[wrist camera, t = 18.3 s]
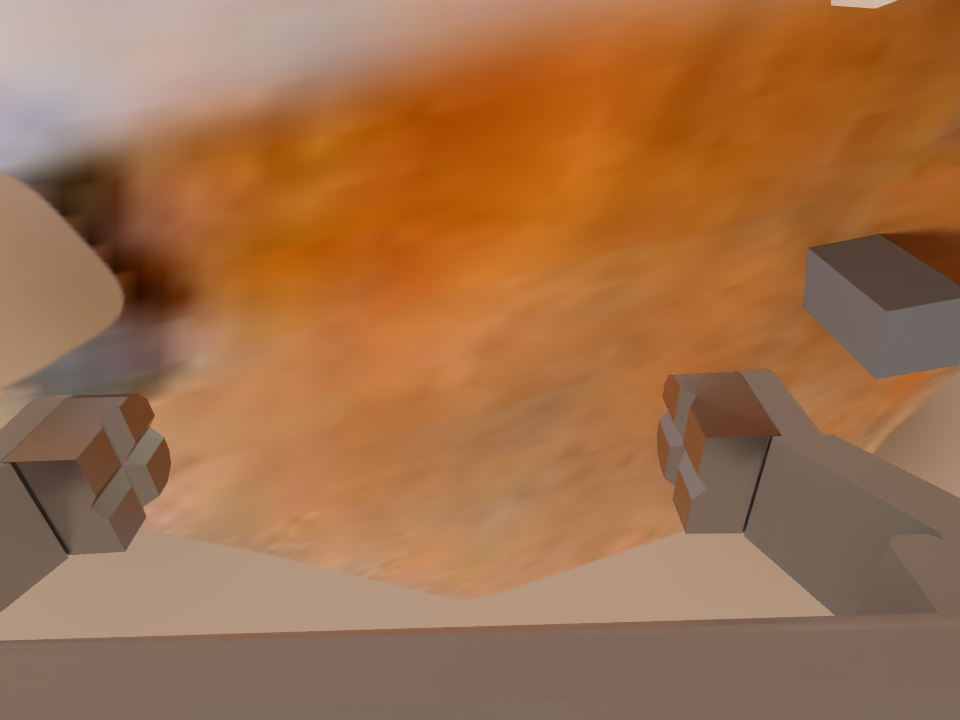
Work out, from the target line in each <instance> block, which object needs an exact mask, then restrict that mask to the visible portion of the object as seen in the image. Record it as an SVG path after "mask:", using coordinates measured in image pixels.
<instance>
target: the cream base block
mask: <svg viewBox="0 0 960 720" xmlns="http://www.w3.org/2000/svg"><path fill="white" fill-rule="evenodd" d="M895 1H897V0H831V5H834V6H848V7H861V8H878V7H880V6H883V5H886V4H889V3H892V2H895Z"/></svg>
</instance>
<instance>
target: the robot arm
mask: <svg viewBox="0 0 960 720" xmlns="http://www.w3.org/2000/svg"><path fill="white" fill-rule="evenodd" d="M663 399H664V402H665V404H666V406H667V409H668V411H667V413H666V414H665V415H664V416H663V417H662V418H661V419H660V420H659V424H658V433H657V448H658V457H659V462H660V467H661V469H662V472H663V475H664V478H665V479H666V480H668V481H669V482H670V483H672V484H673V485H674V486H675V489H674V495H673V502H674V504H675V507H676V510H677V512H678V515H679V517H680V520H681V523H682V525H683V528H684V530H685V533H686V534H688V533H689V534H690V533H745V534H744V536H745V537H746V538H747V539H748V540H749V541H750V542H752V543H753V544H754V545H755V546H756V547H757V548H758V549H760V550H761V551H762V552H763V553H764V554H765V555H766V556H768V557H769V558H770V559H771V560H772V561H773V562H774V563H776V564H777V565H778V566H779V567H780V568H781V569H783V570H784V571H785V572H786V573H787V574H788V575H790V576H791V577H792V578H793V579H794V580H795V581H796V582H797V583H798V584H800V585H801V586H802V587H803V588H804V589H805V590H807V591H808V592H809V593H810V594H811V595H812V596H813V597H815V598H816V599H817V600H818V601H819V602H820V603H821V604H822V605H824V606H825V607H826V608H827V609H828V610H830V611H831V612H832V613H833V614H834V615H835V616H814V617H783V618H782V617H781V618H749V619H716V620H683V621H652V622H651V621H650V622H617V623H581V624H546V625H513V626H478V627H445V628H444V627H443V628H409V629H375V630H342V631H310V632H277V633H245V634H244V633H243V634H210V635H179V636H178V635H176V636H146V637H145V636H143V637H109V638H78V639H77V638H76V639H46V640H45V639H43V640H13V641H12V640H11V641H10V640H9V641H0V720H960V498H958V497H956V496H954V495H952V494H950V493H949V492H946V491H944V490H942V489H940V488H938V487H937V486H935V485H933V484H931V483H929V482H927V481H924V480H923V479H921V478H919V477H917V476H915V475H913V474H911V473H908V472H907V471H905V470H903V469H901V468H898V467H897V466H895V465H893V464H891V463H889V462H887V461H884V460H883V459H881V458H879V457H877V456H875V455H873V454H871V453H869V452H867V451H865V450H863V449H861V448H859V447H857V446H855V445H853V444H851V443H849V442H847V441H845V440H843V439H841V438H839V437H837V436H835V435H833V434H830V435H822V434H821V432H820V431H819V430H818V429H817V427H816V426H815V425H814V423H813V422H812V421H811V419H810V418H809V417H808V416H807V414H806V413H805V412H804V410H803V409H802V408H801V406H800V405H799V404H798V403H797V401H796V400H795V399H794V397H793V396H792V395H791V393H790V392H789V391H788V389H787V388H786V387H785V386H784V384H783V383H782V382H781V380H780V379H779V378H778V376H777V375H776V374H775V373H774V372H773V371H771V370H769V369H757V370H742V371H734V372H719V373H700V374H680V375H668V377H667V379H666V382H665V385H664V391H663ZM154 416H155V415H154V413H153V411H152V409H151V407H150V404H149V402H148V400H147V399H146V398H144V397H142V396H140V395H138V394H100V395H74V396H73V395H57V396H43V397H39V398H35V399H33V400H31V401H30V402H29V403H28V404H27V405H26V406H25V407H24V408H23V409H22V410H21V411H20V412H19V413H18V414H17V415H16V416H14V417H13V418H12V419H11V420H10V421H9V422H8V423H7V424H6V425H5V426H4V427H3V428H2V429H1V430H0V612H1V611H2V610H4V609H5V608H6V607H8V606H9V605H10V604H11V603H13V602H14V601H15V600H16V599H18V598H19V597H20V596H21V595H22V594H24V593H25V592H26V591H28V590H29V589H30V588H31V587H32V586H34V585H35V584H36V583H38V582H39V581H40V580H41V579H43V578H44V577H45V576H46V575H48V574H49V573H50V572H51V571H53V570H54V569H55V568H56V567H57V566H59V565H60V564H61V563H62V562H64V561H65V560H66V559H68V555H76V554H92V553H110V552H125V551H126V549H127V548H128V546H129V544H130V543H131V541H132V540H133V538H134V536H135V535H136V533H137V532H138V530H139V528H140V527H141V525H142V524H143V522H144V520H145V519H146V515H145V512H144V508H143V507H144V506H145V505H146V504H148V503H149V502H151V501H152V500H154V499H155V498H157V497H158V496H160V494H161V492H162V490H163V489H164V487H165V485H166V483H167V482H168V477H169V471H170V466H171V461H170V453H169V449H168V446H167V444H166V441H165V439H164V437H163V436H161V435H160V434H159V433H157V432H156V431H155V430H153V429H152V428H151V427H150V425H151V423H152V421H153V419H154Z"/></svg>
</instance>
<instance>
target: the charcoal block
mask: <svg viewBox="0 0 960 720" xmlns="http://www.w3.org/2000/svg"><path fill="white" fill-rule="evenodd" d="M804 308H805V309H806V310H807V311H808V312H809V313H810V314H811V315H812V316H813V317H814V318H815V319H816V320H817V321H818V322H819V323H820V324H821V325H822V326H823V327H824V328H825V329H826V330H827V331H828V332H829V333H830V334H831V335H832V336H833V337H834V338H835V339H836V340H837V341H838V342H839V343H840V344H841V345H842V346H843V347H844V348H845V349H846V350H847V351H848V352H849V353H850V354H851V355H852V356H853V357H854V358H855V359H856V360H857V361H858V362H859V363H860V364H861V365H862V366H863V367H864V368H865V369H866V370H867V371H868V372H869V373H870V374H871V375H872V376H873V377H874V378H875V379H879V378H885V377H891V376H897V375H903V374H908V373H914V372H920V371H926V370H932V369H938V368H944V367H949V366H955V365H958V364H959V360H960V285H959V284H957V283H956V282H954V281H952V280H951V279H949V278H948V277H946V276H945V275H943V274H941V273H940V272H938V271H937V270H935V269H934V268H932V267H930V266H929V265H927V264H926V263H924V262H922V261H921V260H919V259H918V258H916V257H915V256H913V255H911V254H910V253H908V252H907V251H905V250H904V249H902V248H900V247H899V246H897V245H896V244H894V243H893V242H891V241H889V240H888V239H886V238H885V237H883V236H882V235H880V234H878V235H873V236H867V237H862V238H857V239H852V240H847V241H842V242H837V243H832V244H827V245H822V246H816V247H811V248H808V258H807V270H806V282H805V295H804Z"/></svg>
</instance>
